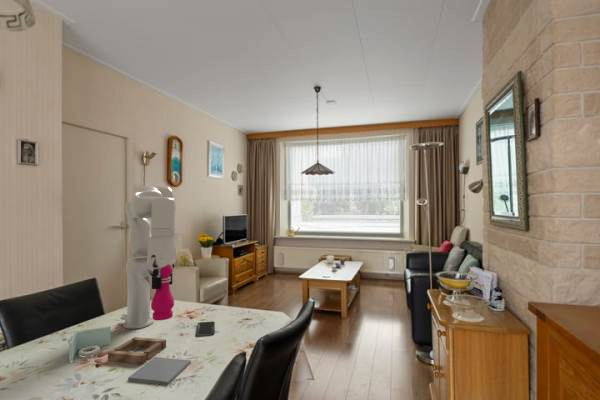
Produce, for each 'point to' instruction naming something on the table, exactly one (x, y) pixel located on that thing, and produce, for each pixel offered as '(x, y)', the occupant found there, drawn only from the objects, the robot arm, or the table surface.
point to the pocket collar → (125, 356)
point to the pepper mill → (163, 297)
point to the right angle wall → (89, 341)
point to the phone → (205, 329)
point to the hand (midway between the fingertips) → (162, 286)
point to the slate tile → (160, 370)
